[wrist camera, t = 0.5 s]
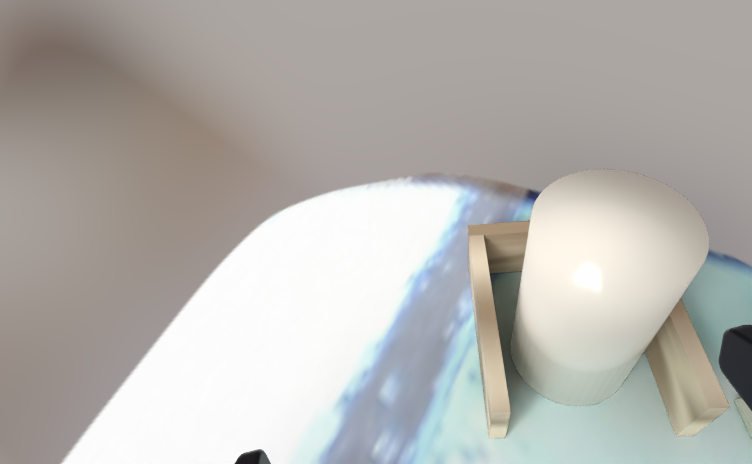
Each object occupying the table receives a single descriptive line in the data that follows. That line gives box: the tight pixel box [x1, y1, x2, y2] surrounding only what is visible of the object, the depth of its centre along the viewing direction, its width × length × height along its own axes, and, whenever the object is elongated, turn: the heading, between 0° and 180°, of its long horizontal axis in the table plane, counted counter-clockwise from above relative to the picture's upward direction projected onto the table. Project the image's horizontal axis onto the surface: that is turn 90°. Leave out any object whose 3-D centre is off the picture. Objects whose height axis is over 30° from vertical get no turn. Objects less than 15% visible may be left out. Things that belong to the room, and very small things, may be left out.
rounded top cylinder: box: [511, 169, 709, 407], centre depth 22 cm, size 8×6×11 cm
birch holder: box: [468, 221, 730, 438], centre depth 24 cm, size 11×10×4 cm
